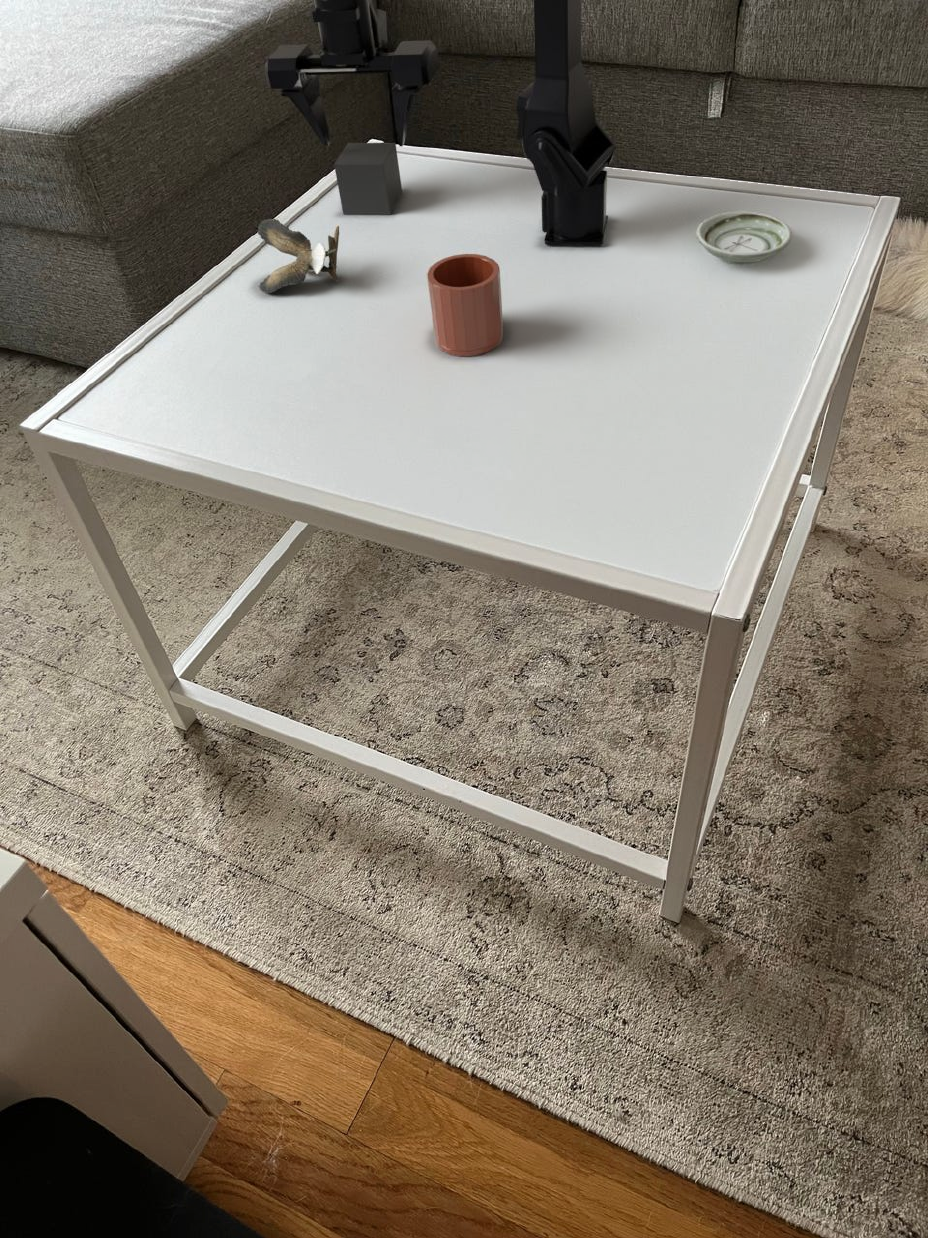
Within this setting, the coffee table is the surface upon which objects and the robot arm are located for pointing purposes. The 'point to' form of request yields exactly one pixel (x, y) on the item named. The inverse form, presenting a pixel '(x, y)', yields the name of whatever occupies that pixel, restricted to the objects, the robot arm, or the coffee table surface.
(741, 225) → the saucer
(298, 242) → the eagle figurine
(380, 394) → the coffee table surface
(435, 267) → the cup
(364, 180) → the block
